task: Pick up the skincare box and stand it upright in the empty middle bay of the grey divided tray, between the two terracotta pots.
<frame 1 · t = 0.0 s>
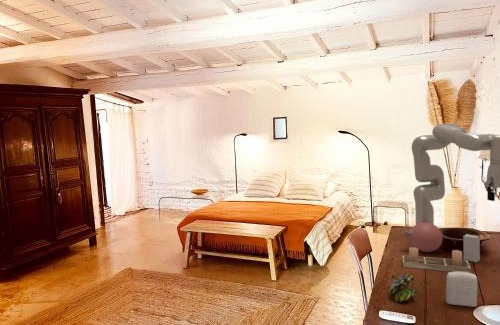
hand: (498, 199, 173), 31 cm above the table, tool pointing down, fingers open, 9 cm apart
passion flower: (403, 297, 149), on the table
balloon: (420, 251, 199), on the table
grey divided tray: (434, 266, 178), on the table
grey speaker: (461, 304, 141), on the table
skincare box: (471, 260, 183), on the table
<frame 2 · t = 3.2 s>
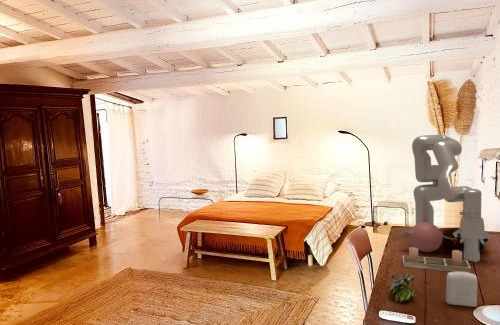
hand: (471, 250, 183), 5 cm above the table, tool pointing down, fingers closed on skincare box, 7 cm apart
skincare box: (471, 260, 183), on the table, touching gripper
everything else where it was.
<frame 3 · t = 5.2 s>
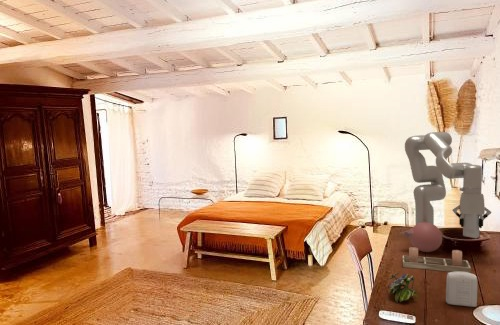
hand: (471, 226, 182), 17 cm above the table, tool pointing down, fingers closed on skincare box, 7 cm apart
skincare box: (470, 236, 183), point 11 cm above the table, touching gripper
everything else where it was.
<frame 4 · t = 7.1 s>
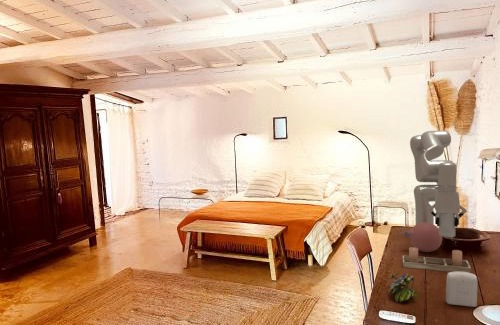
hand: (446, 225, 178), 19 cm above the table, tool pointing down, fingers closed on skincare box, 7 cm apart
skincare box: (446, 236, 178), point 14 cm above the table, touching gripper
everything else where it was.
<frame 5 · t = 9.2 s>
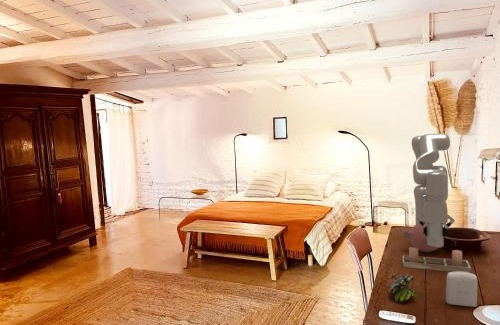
hand: (435, 235, 176), 15 cm above the table, tool pointing down, fingers closed on skincare box, 7 cm apart
skincare box: (434, 246, 177), point 10 cm above the table, touching gripper
everything else where it was.
when the fingers open (6 cm above the table, at t = 11.3 s): skincare box stays where it is, resting in grey divided tray.
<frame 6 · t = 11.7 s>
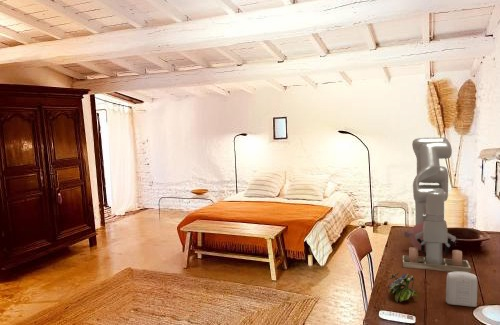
hand: (434, 253, 177), 6 cm above the table, tool pointing down, fingers open, 9 cm apart
skincare box: (434, 266, 178), resting in grey divided tray
everything else where it was.
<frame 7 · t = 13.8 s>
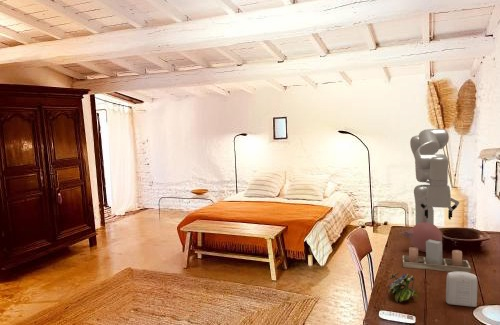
hand: (438, 218, 180), 22 cm above the table, tool pointing down, fingers open, 9 cm apart
nothing on the table moved.
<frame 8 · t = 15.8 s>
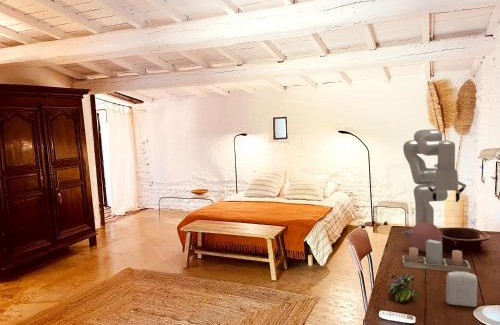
hand: (445, 201, 187), 28 cm above the table, tool pointing down, fingers open, 9 cm apart
nothing on the table moved.
at the end: skincare box 0.4 cm off-centre on the grey divided tray, point 0.0 cm above the grey divided tray's base; skincare box tilted 0°; the gripper is holding nothing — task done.
